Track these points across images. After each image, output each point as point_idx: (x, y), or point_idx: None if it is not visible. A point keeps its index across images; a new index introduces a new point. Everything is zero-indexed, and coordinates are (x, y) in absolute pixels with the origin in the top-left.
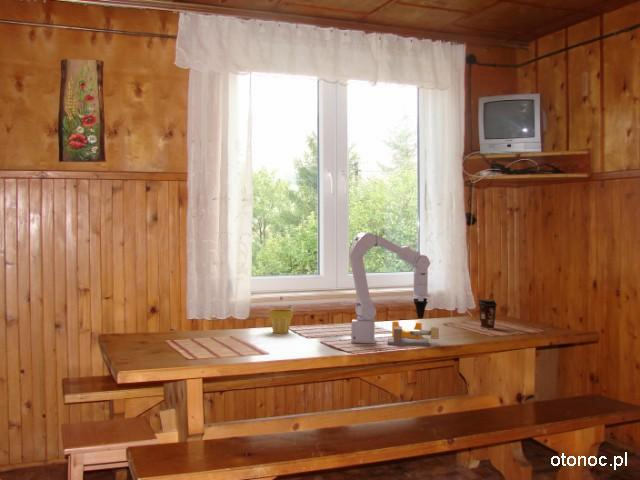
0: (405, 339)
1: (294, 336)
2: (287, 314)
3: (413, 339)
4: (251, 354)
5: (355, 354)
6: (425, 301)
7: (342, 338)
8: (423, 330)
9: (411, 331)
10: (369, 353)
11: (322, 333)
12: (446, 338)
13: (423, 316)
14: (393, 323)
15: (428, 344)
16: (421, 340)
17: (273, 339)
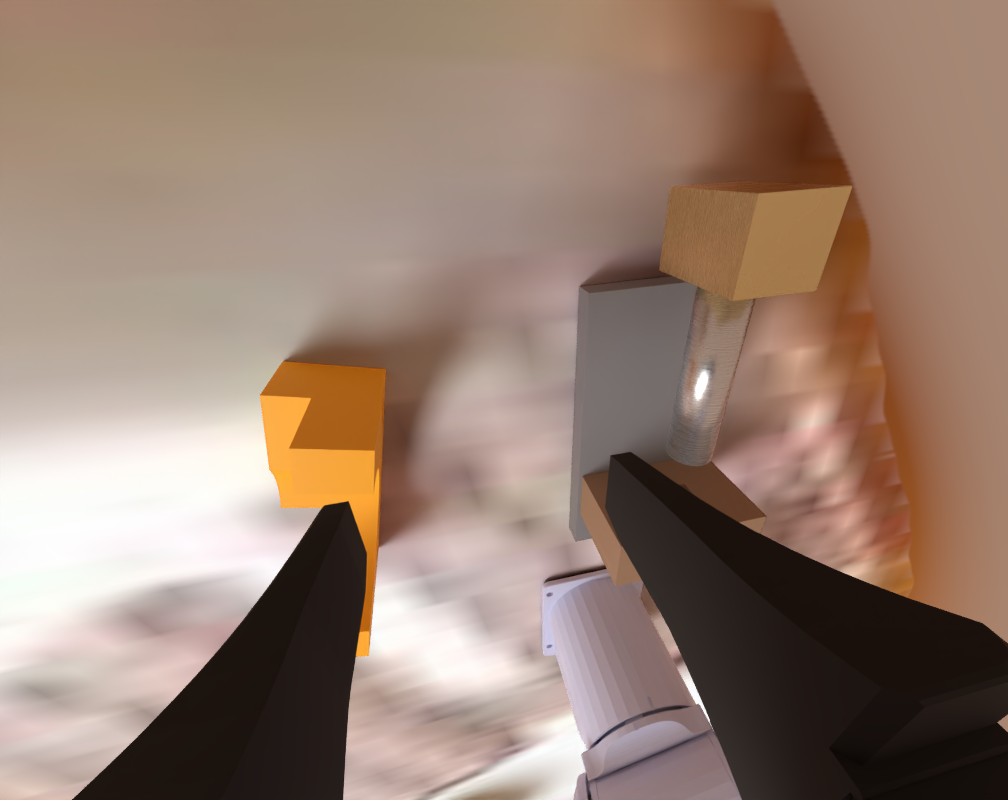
0: (606, 450)
1: (508, 772)
2: None
3: (601, 403)
4: None
5: (874, 549)
6: (903, 734)
7: (517, 681)
8: (735, 360)
9: (713, 449)
10: (872, 516)
11: (407, 758)
12: (263, 72)
13: (647, 463)
14: (370, 634)
15: None
16: (644, 341)
17: (576, 775)
